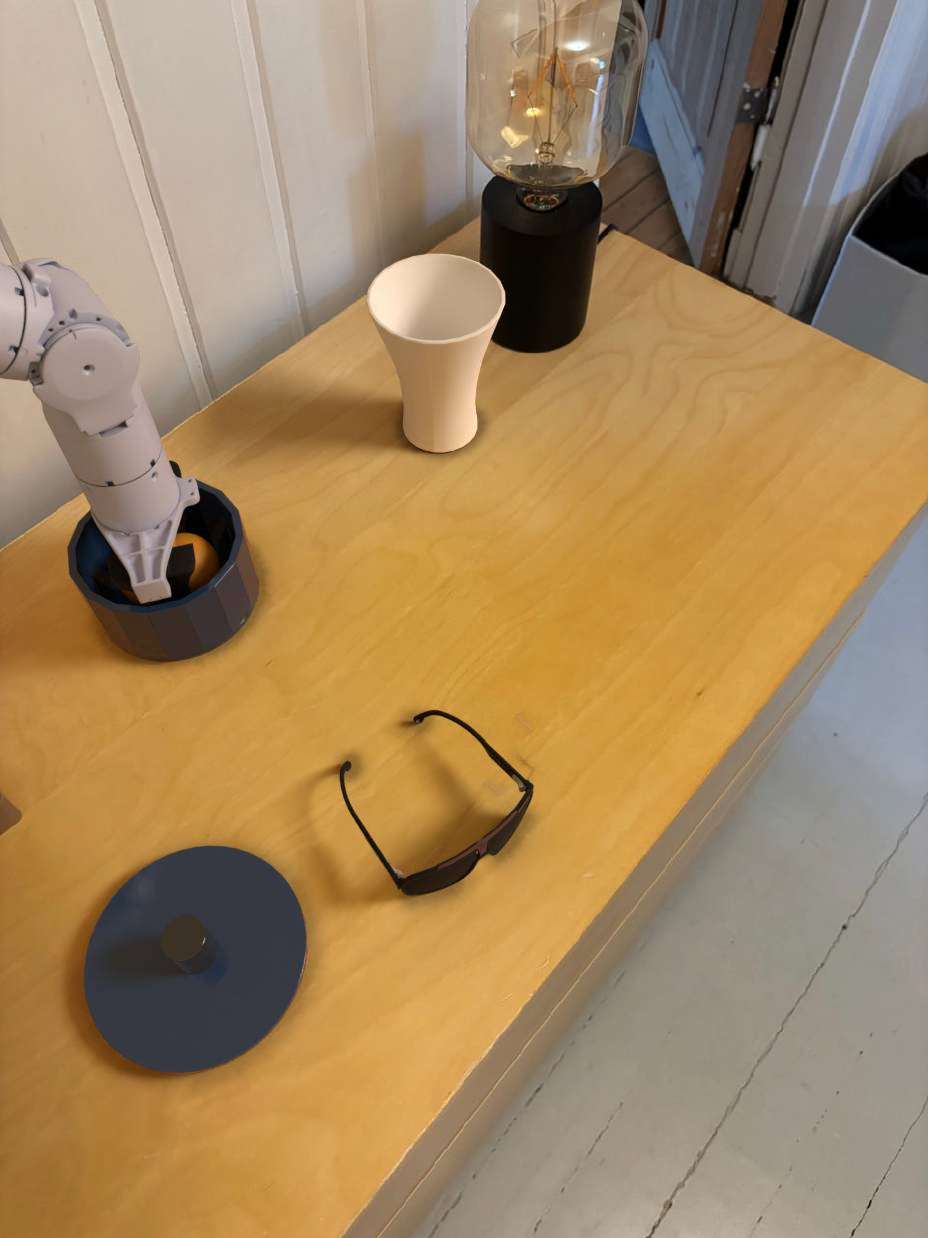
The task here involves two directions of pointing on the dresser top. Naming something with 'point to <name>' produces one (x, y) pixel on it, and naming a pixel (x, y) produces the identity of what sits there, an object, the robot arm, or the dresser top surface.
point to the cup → (437, 341)
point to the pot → (180, 622)
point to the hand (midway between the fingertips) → (172, 579)
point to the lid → (195, 959)
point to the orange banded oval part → (204, 565)
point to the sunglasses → (468, 858)
